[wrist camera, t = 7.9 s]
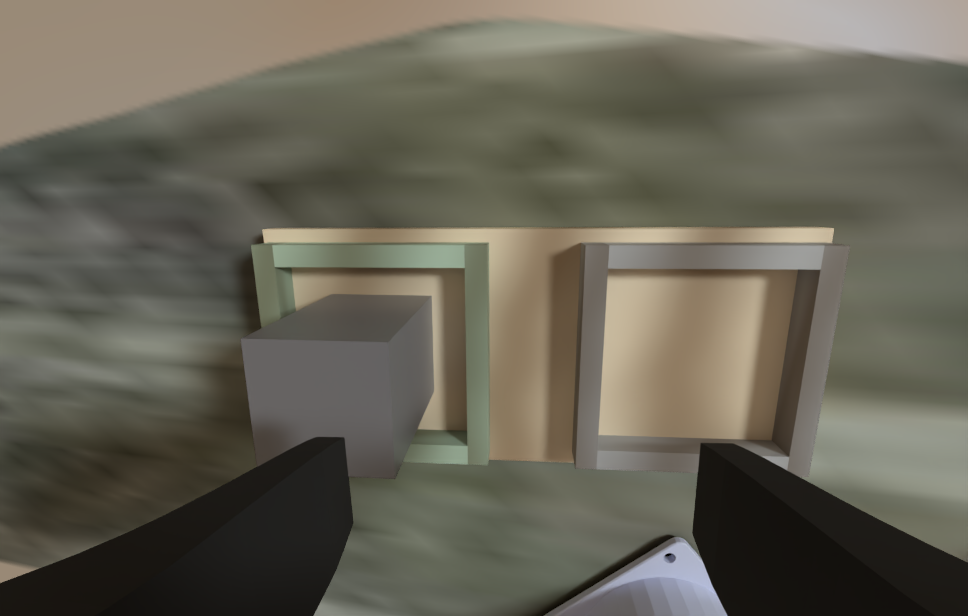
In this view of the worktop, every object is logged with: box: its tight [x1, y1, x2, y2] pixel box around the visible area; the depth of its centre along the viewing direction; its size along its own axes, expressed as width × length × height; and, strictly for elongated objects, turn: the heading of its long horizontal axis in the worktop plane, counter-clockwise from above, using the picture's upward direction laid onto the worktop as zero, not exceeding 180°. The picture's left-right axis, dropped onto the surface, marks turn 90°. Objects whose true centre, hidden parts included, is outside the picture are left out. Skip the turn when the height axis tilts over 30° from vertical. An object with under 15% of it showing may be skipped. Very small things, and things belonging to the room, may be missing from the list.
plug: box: [241, 294, 434, 479], centre depth 15 cm, size 4×4×6 cm
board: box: [251, 227, 850, 477], centre depth 18 cm, size 21×10×2 cm, turn 90°
